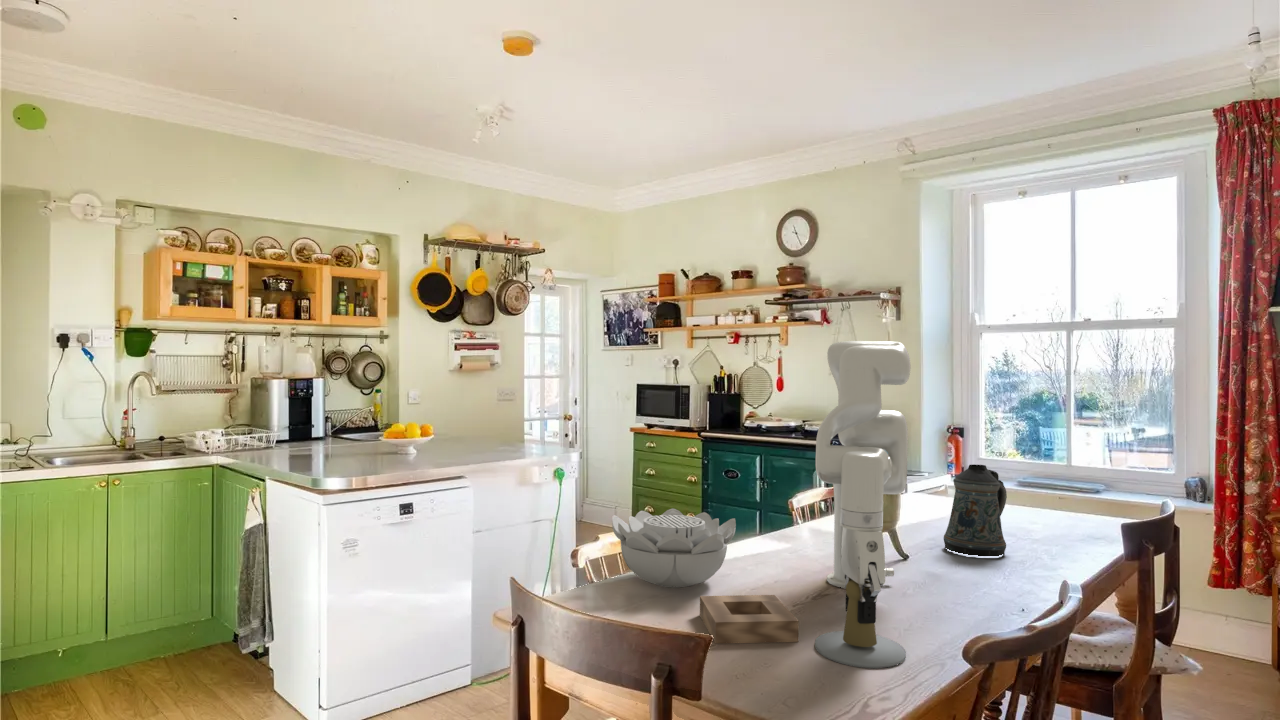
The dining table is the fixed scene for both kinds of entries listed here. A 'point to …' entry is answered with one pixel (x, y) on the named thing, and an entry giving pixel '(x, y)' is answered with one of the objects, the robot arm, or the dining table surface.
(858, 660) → the slate mat
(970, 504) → the beer stein
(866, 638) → the cork
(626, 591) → the dining table surface
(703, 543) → the decorative bowl
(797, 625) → the walnut holder
